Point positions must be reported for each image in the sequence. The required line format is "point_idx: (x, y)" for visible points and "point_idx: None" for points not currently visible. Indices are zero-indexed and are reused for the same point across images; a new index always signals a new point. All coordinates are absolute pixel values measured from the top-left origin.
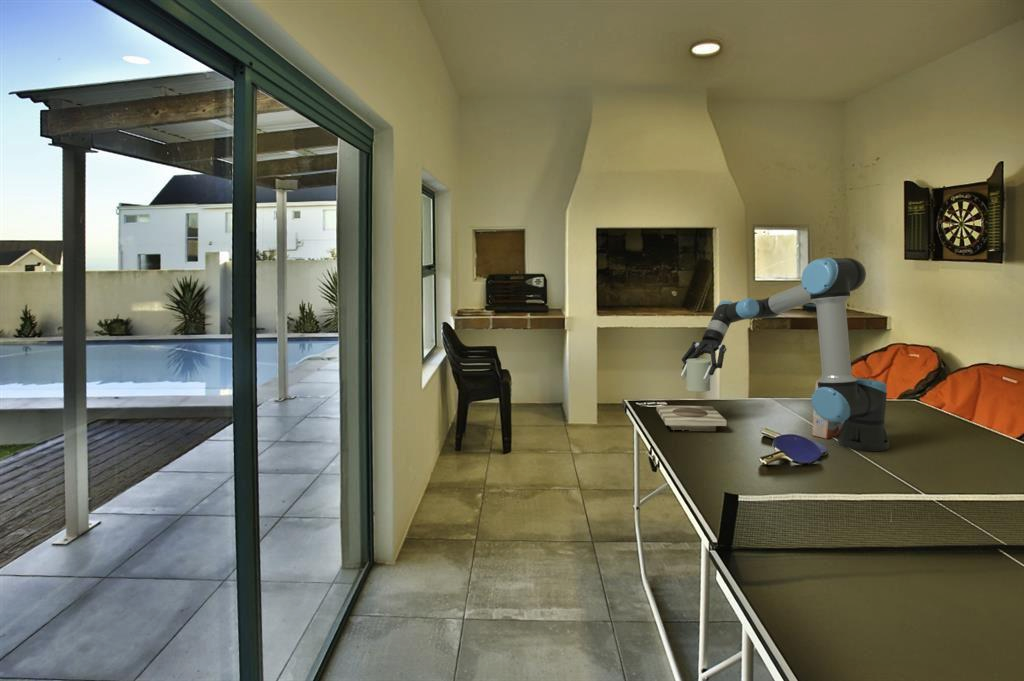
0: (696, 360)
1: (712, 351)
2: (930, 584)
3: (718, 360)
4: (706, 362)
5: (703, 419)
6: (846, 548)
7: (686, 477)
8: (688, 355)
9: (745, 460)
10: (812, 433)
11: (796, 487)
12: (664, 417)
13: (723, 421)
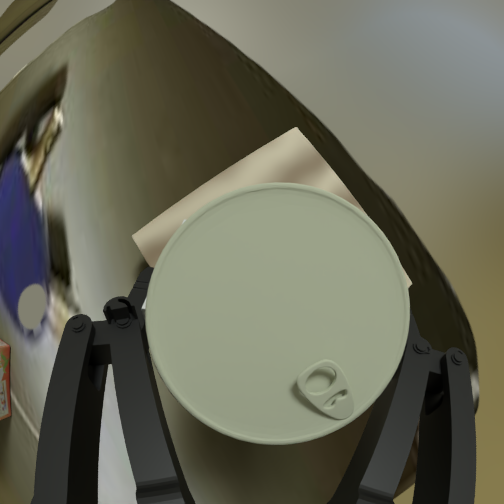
0: (309, 318)
1: (146, 489)
2: (7, 22)
3: (74, 357)
4: (161, 253)
5: (198, 202)
6: (31, 15)
7: (156, 2)
8: (442, 420)
9: (83, 97)
10: (6, 345)
11: (33, 68)
12: (316, 150)
13: (140, 230)
